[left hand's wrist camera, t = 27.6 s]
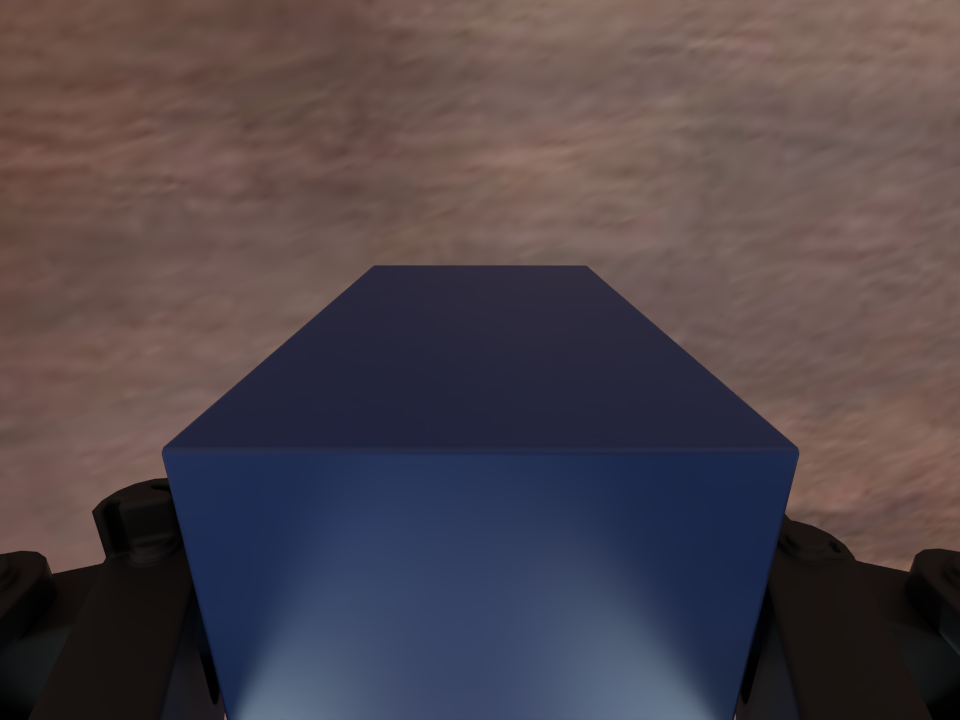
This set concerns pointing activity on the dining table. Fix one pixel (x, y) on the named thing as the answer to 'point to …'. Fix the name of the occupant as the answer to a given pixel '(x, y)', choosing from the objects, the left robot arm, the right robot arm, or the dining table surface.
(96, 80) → the dining table surface
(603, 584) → the brick
